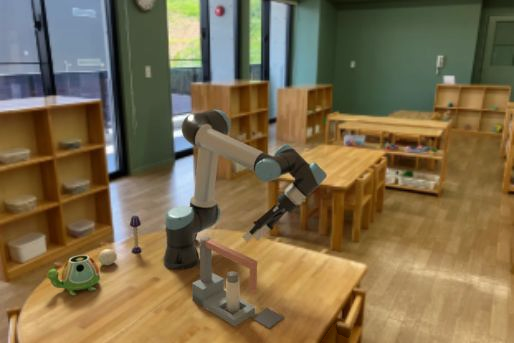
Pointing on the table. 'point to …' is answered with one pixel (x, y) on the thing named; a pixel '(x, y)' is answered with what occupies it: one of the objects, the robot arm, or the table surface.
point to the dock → (216, 292)
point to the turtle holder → (76, 274)
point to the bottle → (232, 292)
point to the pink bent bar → (233, 259)
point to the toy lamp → (135, 233)
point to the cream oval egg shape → (107, 257)
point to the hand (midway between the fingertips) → (250, 239)
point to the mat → (267, 317)
